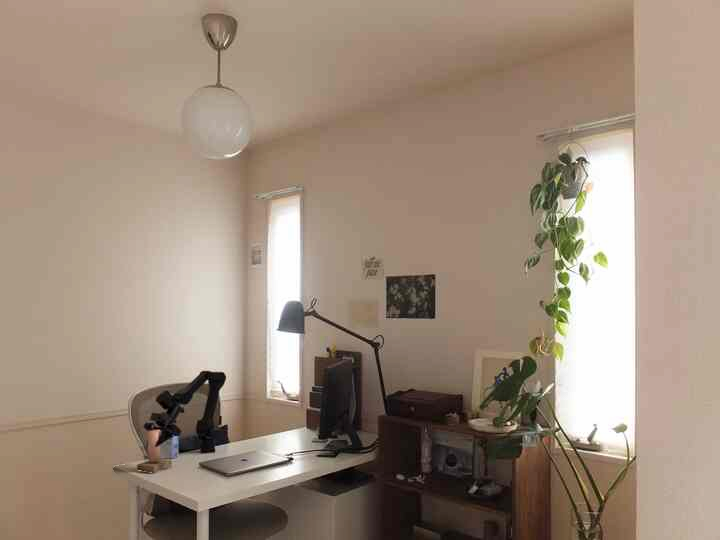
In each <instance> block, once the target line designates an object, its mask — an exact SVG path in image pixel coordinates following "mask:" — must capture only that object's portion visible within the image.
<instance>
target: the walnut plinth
mask: <svg viewBox="0 0 720 540" xmlns="http://www.w3.org/2000/svg"><path fill="white" fill-rule="evenodd" d="M168 468H169V469H171V468H172V460H170V459H163V458H161V460H160V461H157V462H149V461H148V460H147V461H144V462H141V463H137V465H136V471H137V470H141V471H146V472H152V473H151V474H153V473H154V474H156V473H155V472H157V473H159V472H158V471H160V472H162V470H163V471H165V469H166V470H169V469H168Z"/></svg>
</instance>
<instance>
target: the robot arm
mask: <svg viewBox="0 0 720 540" xmlns="http://www.w3.org/2000/svg"><path fill="white" fill-rule="evenodd" d="M226 379H227V375H226V373H225V372H223V371H210V370H202V371H200V372H199V374H198V375H197V376H196V377H195V378H193V380H192V381H191V382H189V383H188V385H186V386H185V387H183V388H181V389H178V390H177V391H175V392H174V394H173V395H172V394H171V392H170V391H169V390H164V391H163V392H161V393H159V394H158V395H157V396H156V398H155V402H156V403H157V404H158V406H160V408H161V409H163V410H165V411H162V412H161V413H158V412H151V414H150V418H149V421H153V422H145V423H144V424H143V427H142V428H143V429H145V430H146V432H148V431H149V430H154V429H160V431H162V432H161V435H160V437H159V439H158V441H157V443H156V445H155V446H156V447H158V446H159V445H161V444H162V443H164V442H165V441H167V440H168V439H170V438H173V434H174V436H178V437H180V435H181V434H182V429H181V428H180V427H179V426H178V425H177V422H178V421H177V418H178V417H179V415H180V414H184V413H185V408H184V406H186V405H188V404H189V403H191V400H193V397H194V394H195V393H196V392H197V391H198V390H199V389H200V388H202V386H203V385H204V384H205V383H206V382H207V384H208V388H209V389H208V394H207V399H206V403H205V406H204V407H205V408H204V412H203V415H202V418H201V419H197V421H196V427H195V433H196V435H197V438H198V440H201V441H200V444H199V446H200V447H199V450H200V453H201V454H207V453H208V454H209V453H215V452H216V440H217V439H218V438H219V433H218V431H216V430H215V425H216V424H215V422H214V421H215V420H214V417H215V411H216V408H217V402H218V399H219V394H220V390H221V389H222V388H223V387H224V385H225V384H226V381H227V380H226ZM181 405H183V406H181ZM146 446H147V447H148V441H147V442H146Z"/></svg>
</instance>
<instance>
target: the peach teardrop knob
mask: <svg viewBox="0 0 720 540" xmlns="http://www.w3.org/2000/svg"><path fill="white" fill-rule="evenodd" d="M147 437H148V438H147V442H148V446H147V449H148V457H147V458H148V459H147V461H149V462H157V461H160V460H161V459H162V458H161V454H160V445H159V446H158V447H156V446H155V445H156V443H157V441H158V439H159V437H160V429H154V430H149V431H147Z"/></svg>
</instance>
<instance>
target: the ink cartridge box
mask: <svg viewBox="0 0 720 540" xmlns="http://www.w3.org/2000/svg"><path fill="white" fill-rule="evenodd" d="M161 432H162V431H160V435H161ZM160 454H161V459H164V458H173V459H175V458H176V457H175V456H177V455H178V456H179V436H174V434H173V438H170V439H168V440H167V441H165V442H164V443H162V444H161V445H160ZM163 457H164V458H163ZM174 457H175V458H174Z"/></svg>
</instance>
